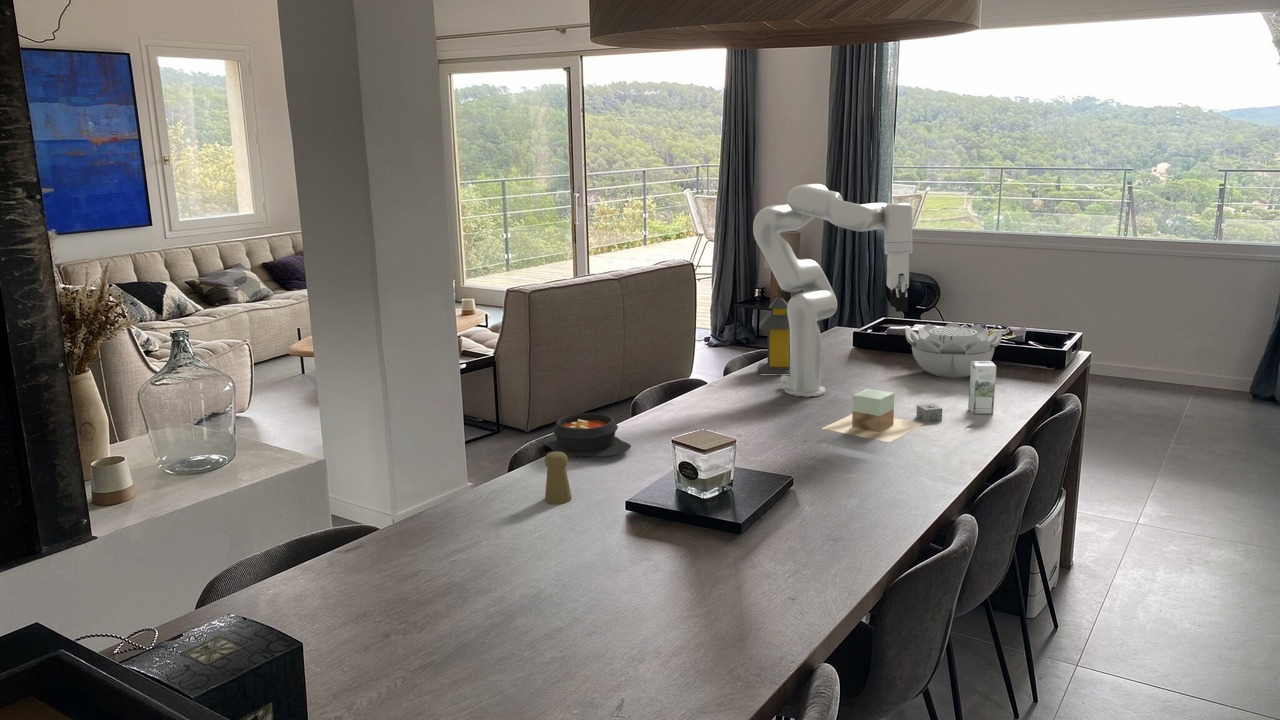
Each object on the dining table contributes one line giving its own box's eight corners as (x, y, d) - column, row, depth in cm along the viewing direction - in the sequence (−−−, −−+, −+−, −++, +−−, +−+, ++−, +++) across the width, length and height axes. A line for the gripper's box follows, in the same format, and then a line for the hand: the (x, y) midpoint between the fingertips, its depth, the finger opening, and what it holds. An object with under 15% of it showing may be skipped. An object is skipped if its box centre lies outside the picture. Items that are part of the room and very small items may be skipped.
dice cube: (924, 427, 257) (925, 410, 256) (916, 422, 262) (916, 405, 260) (941, 425, 258) (942, 408, 257) (932, 420, 262) (933, 403, 261)
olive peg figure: (545, 495, 216) (542, 449, 214) (571, 493, 217) (569, 448, 214) (544, 505, 210) (542, 458, 208) (571, 503, 211) (569, 456, 208)
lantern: (758, 375, 318) (758, 287, 311) (759, 365, 332) (758, 281, 325) (800, 375, 316) (801, 287, 309) (799, 365, 330) (800, 280, 323)
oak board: (821, 433, 254) (821, 428, 254) (857, 416, 268) (857, 411, 268) (889, 447, 241) (889, 442, 241) (923, 428, 255) (924, 423, 255)
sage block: (852, 411, 253) (852, 394, 252) (866, 404, 259) (867, 388, 258) (879, 416, 248) (880, 399, 247) (893, 409, 254) (894, 392, 253)
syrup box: (988, 409, 272) (991, 360, 268) (993, 414, 266) (996, 365, 262) (967, 409, 272) (970, 360, 269) (972, 415, 266) (975, 365, 263)
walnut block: (852, 427, 254) (852, 411, 253) (866, 420, 260) (866, 404, 259) (879, 432, 249) (879, 416, 248) (893, 425, 255) (893, 409, 254)
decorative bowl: (920, 360, 331) (921, 318, 328) (1007, 370, 314) (1010, 326, 310) (887, 379, 307) (888, 334, 304) (980, 391, 290) (983, 343, 287)
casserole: (645, 449, 246) (644, 418, 244) (601, 470, 232) (599, 437, 230) (573, 434, 261) (571, 405, 259) (526, 453, 246) (525, 422, 244)
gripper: (880, 246, 271) (881, 305, 274) (889, 251, 254) (889, 314, 257) (907, 244, 270) (907, 303, 273) (917, 250, 253) (918, 312, 256)
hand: (898, 308), depth 265 cm, fingers open, 9 cm apart
